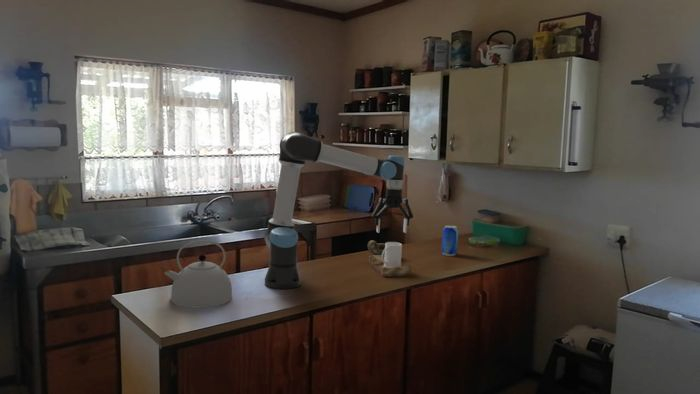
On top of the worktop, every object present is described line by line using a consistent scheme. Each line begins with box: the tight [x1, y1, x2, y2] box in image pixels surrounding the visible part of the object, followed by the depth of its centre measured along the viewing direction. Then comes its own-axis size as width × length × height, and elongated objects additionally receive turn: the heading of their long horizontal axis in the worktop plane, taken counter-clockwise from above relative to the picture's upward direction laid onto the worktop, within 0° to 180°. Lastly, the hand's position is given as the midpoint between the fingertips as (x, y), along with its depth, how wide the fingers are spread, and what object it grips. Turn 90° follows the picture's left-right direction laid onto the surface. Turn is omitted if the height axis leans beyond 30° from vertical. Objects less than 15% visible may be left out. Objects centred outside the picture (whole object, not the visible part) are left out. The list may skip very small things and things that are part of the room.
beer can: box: [440, 224, 459, 257], centre depth 282 cm, size 8×8×16 cm
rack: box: [368, 255, 412, 277], centre depth 247 cm, size 14×22×4 cm, turn 15°
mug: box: [382, 241, 403, 267], centre depth 244 cm, size 12×8×12 cm
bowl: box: [367, 239, 385, 256], centre depth 269 cm, size 14×18×10 cm
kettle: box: [164, 240, 233, 309], centre depth 194 cm, size 25×23×22 cm
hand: (391, 232), depth 243 cm, fingers open, 13 cm apart
